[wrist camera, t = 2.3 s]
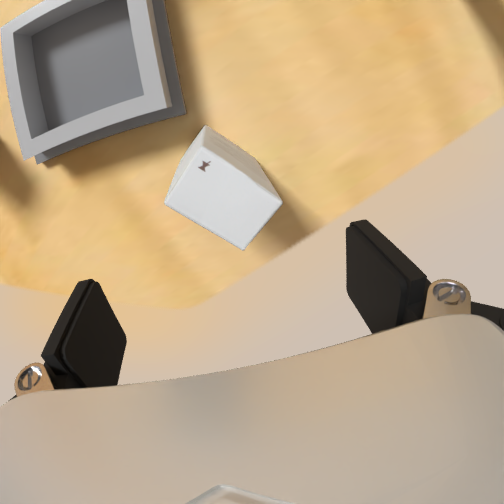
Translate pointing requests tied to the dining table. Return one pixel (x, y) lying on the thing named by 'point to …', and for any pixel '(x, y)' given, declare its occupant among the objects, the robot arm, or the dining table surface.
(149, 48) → the socket block
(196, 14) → the dining table surface
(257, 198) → the skincare box
